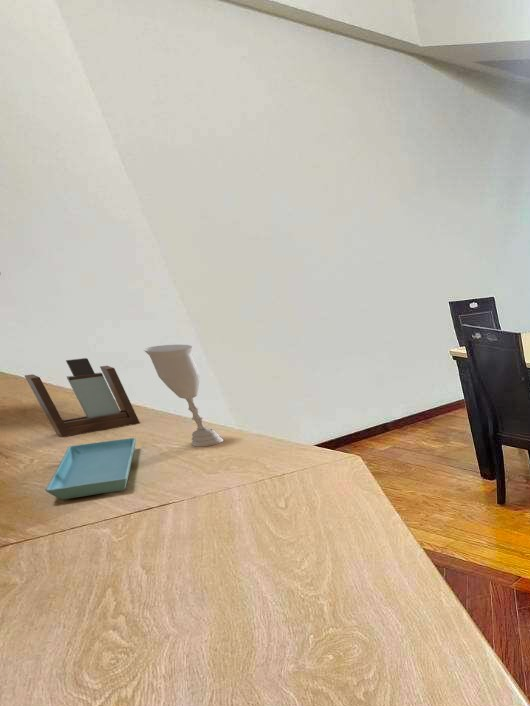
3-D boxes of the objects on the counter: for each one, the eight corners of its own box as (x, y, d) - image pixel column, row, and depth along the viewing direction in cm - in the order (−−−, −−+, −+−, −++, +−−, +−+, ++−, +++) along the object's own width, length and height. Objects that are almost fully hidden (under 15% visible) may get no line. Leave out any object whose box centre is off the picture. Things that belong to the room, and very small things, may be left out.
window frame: (62, 437, 116) (30, 378, 111) (55, 433, 118) (24, 375, 112) (140, 423, 125) (114, 367, 120) (133, 420, 127) (107, 365, 121)
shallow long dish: (73, 456, 108) (66, 443, 106) (140, 447, 113) (134, 435, 112) (52, 505, 90) (43, 490, 89) (133, 492, 95) (126, 478, 94)
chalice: (183, 440, 117) (141, 346, 108) (225, 434, 121) (189, 343, 113) (187, 450, 113) (144, 353, 104) (231, 443, 117) (194, 349, 108)
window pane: (90, 422, 120) (60, 361, 114) (88, 421, 120) (58, 360, 115) (122, 416, 124) (94, 357, 118) (120, 415, 124) (92, 357, 118)
